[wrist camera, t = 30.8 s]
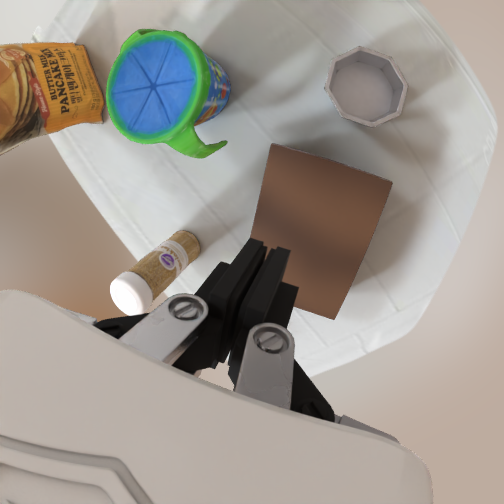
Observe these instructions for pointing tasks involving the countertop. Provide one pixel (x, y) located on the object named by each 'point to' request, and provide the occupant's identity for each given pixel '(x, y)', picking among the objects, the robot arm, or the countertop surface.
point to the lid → (318, 223)
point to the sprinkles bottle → (154, 273)
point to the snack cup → (165, 91)
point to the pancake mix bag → (45, 90)
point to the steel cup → (366, 86)
